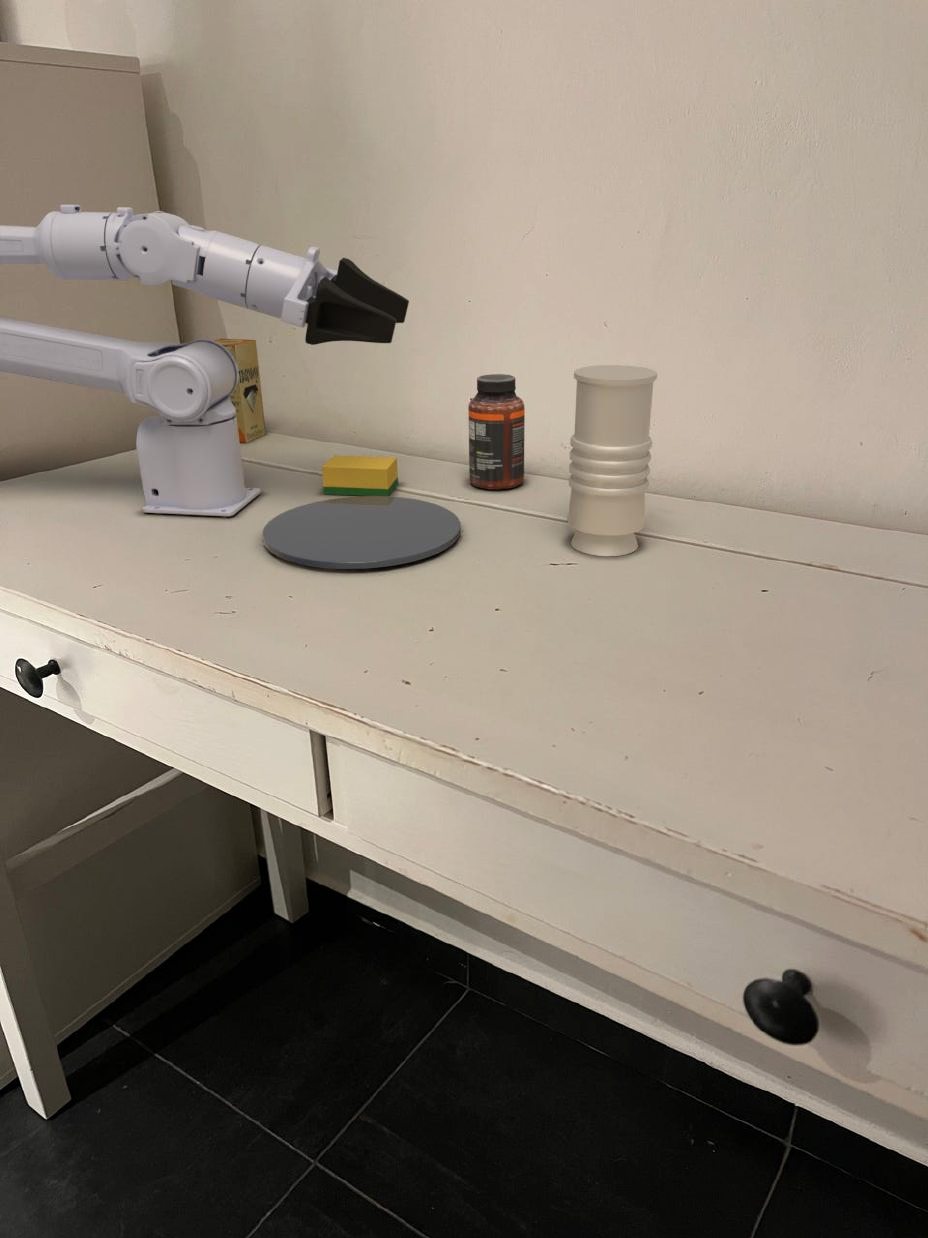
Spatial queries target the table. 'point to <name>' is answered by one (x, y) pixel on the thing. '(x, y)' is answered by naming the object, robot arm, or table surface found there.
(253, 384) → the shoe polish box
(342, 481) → the sponge
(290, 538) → the plate
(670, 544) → the table surface
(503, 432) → the supplement bottle
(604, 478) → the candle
